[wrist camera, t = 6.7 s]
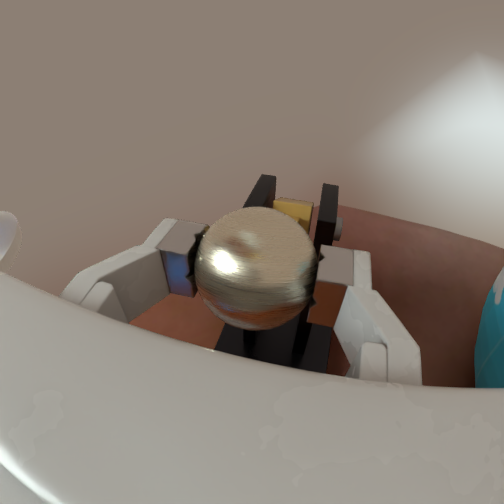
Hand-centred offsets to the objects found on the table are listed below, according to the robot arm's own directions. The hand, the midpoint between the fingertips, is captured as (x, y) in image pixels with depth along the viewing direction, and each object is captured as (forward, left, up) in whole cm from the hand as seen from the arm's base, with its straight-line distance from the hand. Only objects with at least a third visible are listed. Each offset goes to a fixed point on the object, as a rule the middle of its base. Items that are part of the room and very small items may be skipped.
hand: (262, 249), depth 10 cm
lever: (-1, +2, -4) cm, 5 cm away
